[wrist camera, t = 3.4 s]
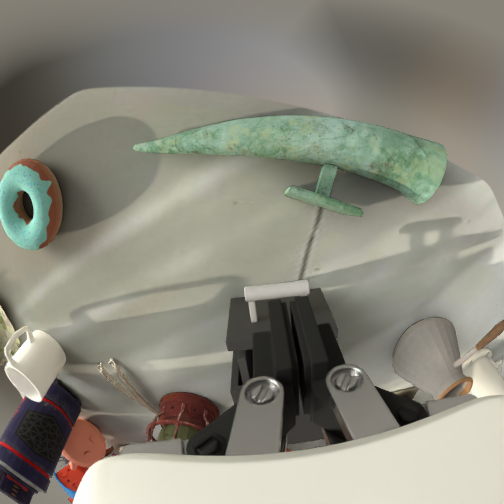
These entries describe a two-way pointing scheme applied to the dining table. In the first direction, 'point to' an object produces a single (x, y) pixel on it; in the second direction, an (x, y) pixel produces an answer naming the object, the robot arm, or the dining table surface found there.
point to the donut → (43, 198)
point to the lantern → (182, 416)
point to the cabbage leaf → (6, 337)
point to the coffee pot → (436, 357)
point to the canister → (36, 443)
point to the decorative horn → (322, 153)
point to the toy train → (71, 479)
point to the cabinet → (304, 426)
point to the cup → (34, 363)
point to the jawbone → (116, 384)
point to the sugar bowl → (84, 445)
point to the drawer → (267, 316)
